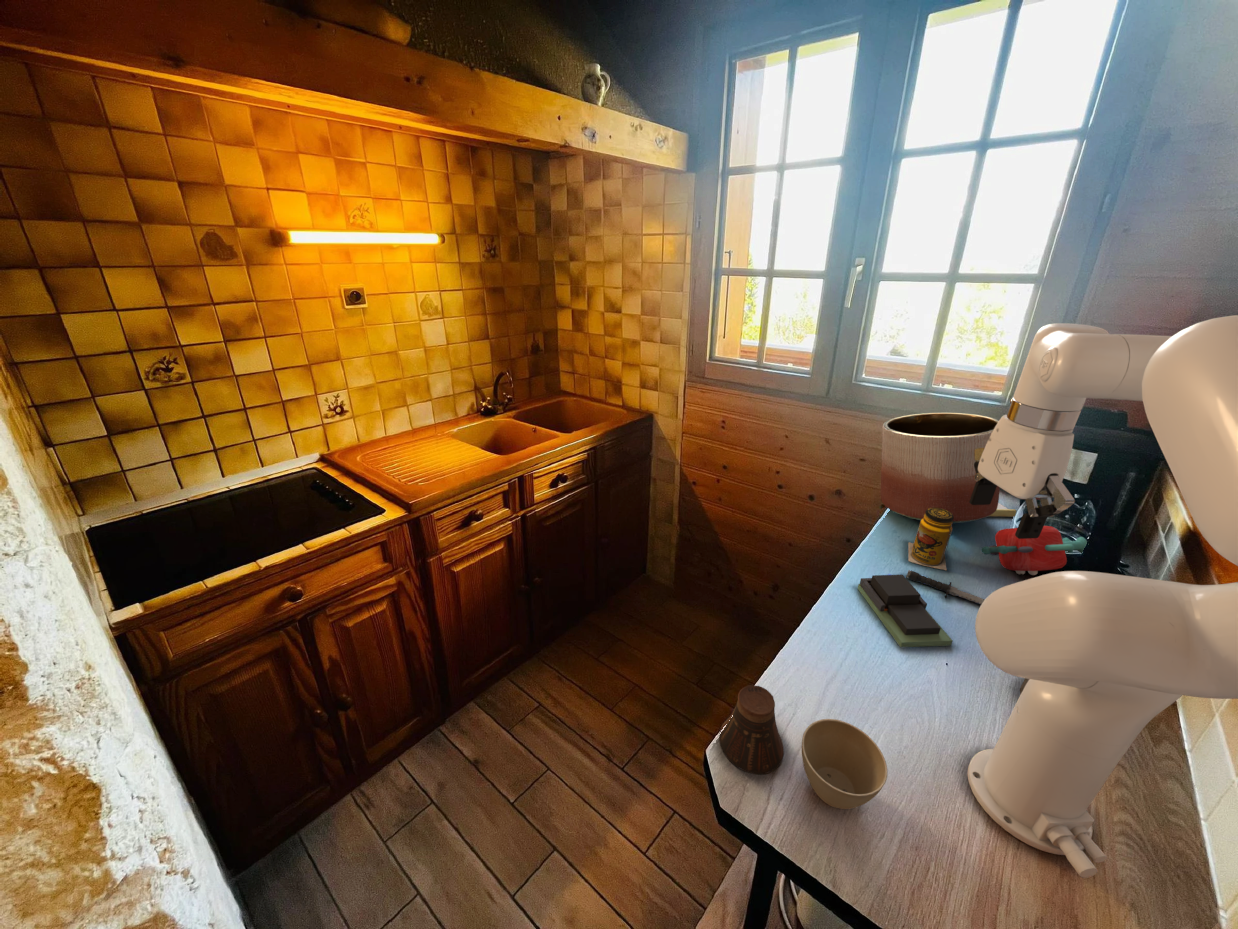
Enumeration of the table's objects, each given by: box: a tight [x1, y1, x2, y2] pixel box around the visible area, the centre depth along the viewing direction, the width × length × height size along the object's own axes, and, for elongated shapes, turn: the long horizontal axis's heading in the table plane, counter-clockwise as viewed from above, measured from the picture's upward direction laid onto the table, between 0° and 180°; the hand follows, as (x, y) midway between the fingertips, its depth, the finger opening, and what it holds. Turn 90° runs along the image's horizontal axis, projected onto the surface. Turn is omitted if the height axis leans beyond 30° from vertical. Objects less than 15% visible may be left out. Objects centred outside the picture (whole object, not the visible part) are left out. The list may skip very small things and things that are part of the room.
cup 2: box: [718, 684, 785, 775], centre depth 68 cm, size 9×9×10 cm
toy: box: [980, 525, 1088, 577], centre depth 104 cm, size 17×10×20 cm
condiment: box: [907, 508, 954, 571], centre depth 108 cm, size 7×8×12 cm
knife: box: [905, 569, 986, 606], centre depth 98 cm, size 19×2×5 cm
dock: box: [857, 577, 953, 648], centre depth 94 cm, size 16×9×3 cm, turn 2°
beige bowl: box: [801, 718, 888, 810], centre depth 63 cm, size 10×10×7 cm
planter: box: [880, 412, 1001, 524], centre depth 123 cm, size 25×25×22 cm
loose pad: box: [870, 574, 922, 609], centre depth 96 cm, size 6×6×3 cm
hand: (1001, 519), depth 76 cm, fingers open, 9 cm apart
